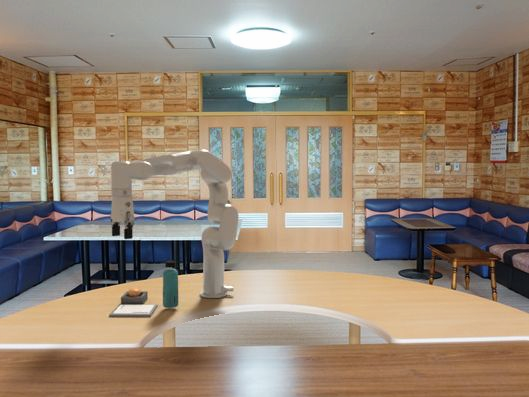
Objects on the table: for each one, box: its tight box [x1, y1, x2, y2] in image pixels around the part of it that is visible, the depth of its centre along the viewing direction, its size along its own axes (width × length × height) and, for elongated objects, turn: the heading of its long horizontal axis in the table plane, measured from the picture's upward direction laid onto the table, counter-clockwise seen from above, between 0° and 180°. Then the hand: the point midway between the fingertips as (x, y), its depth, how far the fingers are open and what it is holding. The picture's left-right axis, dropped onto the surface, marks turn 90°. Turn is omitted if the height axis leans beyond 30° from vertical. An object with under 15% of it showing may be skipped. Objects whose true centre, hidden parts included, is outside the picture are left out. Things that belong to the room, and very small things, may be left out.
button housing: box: [120, 290, 148, 304], centre depth 187 cm, size 9×9×4 cm
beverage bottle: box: [162, 260, 180, 309], centre depth 178 cm, size 6×7×20 cm
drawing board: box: [108, 303, 159, 318], centre depth 175 cm, size 16×13×1 cm
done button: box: [128, 287, 141, 297], centre depth 187 cm, size 5×5×2 cm
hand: (122, 237), depth 168 cm, fingers open, 9 cm apart
